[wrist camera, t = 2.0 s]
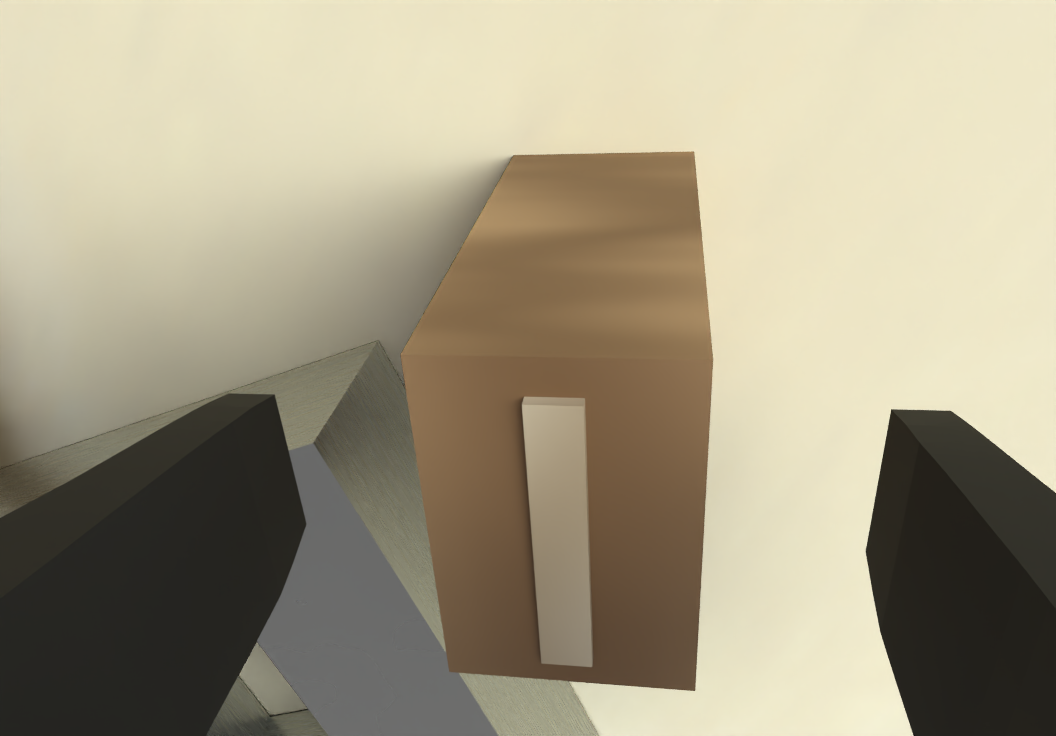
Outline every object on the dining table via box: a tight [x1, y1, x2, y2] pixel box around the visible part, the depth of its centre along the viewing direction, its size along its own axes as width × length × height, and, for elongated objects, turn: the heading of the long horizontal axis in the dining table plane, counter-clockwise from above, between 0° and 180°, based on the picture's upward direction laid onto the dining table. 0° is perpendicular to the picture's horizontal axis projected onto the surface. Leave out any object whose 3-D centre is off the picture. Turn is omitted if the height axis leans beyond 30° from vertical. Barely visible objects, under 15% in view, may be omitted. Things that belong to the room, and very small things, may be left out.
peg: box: [401, 152, 713, 691], centre depth 12 cm, size 3×4×7 cm, turn 3°
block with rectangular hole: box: [0, 341, 599, 736], centre depth 19 cm, size 12×12×4 cm
